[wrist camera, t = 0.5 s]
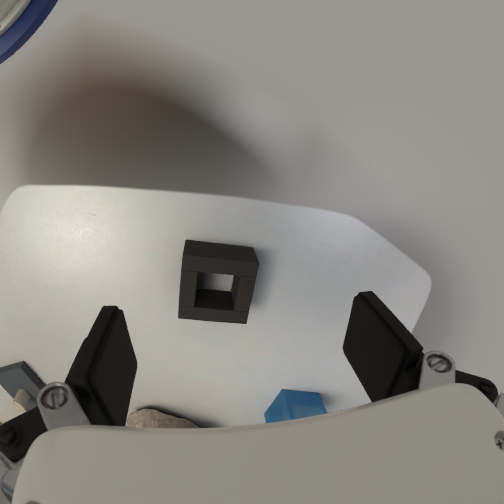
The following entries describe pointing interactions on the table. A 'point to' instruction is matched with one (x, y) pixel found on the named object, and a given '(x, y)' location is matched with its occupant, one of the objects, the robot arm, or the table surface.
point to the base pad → (21, 385)
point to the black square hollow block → (212, 301)
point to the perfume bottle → (294, 406)
